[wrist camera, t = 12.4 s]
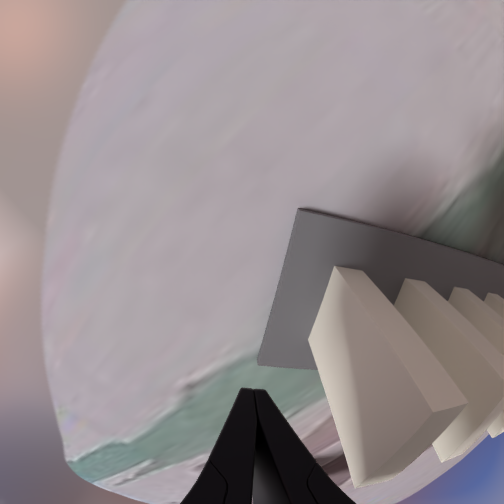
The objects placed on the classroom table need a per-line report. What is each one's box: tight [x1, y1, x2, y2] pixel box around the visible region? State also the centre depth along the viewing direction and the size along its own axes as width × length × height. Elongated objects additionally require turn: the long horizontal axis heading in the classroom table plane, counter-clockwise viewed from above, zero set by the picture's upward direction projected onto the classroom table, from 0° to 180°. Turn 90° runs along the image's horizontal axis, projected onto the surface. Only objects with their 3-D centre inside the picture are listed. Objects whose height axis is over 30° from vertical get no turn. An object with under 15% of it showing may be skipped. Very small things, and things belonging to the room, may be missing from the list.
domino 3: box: [448, 287, 504, 438], centre depth 12 cm, size 2×5×10 cm, turn 169°
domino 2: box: [394, 278, 504, 463], centre depth 12 cm, size 2×5×10 cm, turn 169°
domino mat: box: [257, 208, 504, 370], centre depth 17 cm, size 10×27×1 cm, turn 79°
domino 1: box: [308, 266, 469, 488], centre depth 11 cm, size 2×5×10 cm, turn 169°
